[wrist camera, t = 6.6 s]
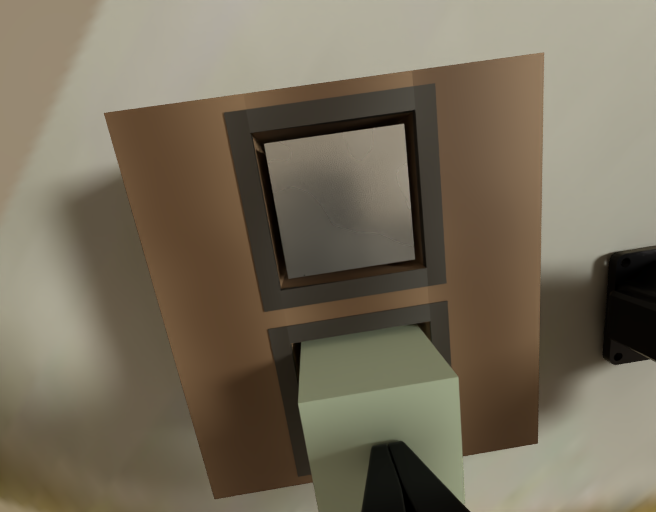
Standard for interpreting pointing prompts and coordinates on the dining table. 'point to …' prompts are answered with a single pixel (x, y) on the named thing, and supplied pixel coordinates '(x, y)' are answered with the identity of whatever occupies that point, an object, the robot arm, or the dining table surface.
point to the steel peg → (342, 200)
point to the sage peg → (376, 409)
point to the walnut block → (348, 285)
